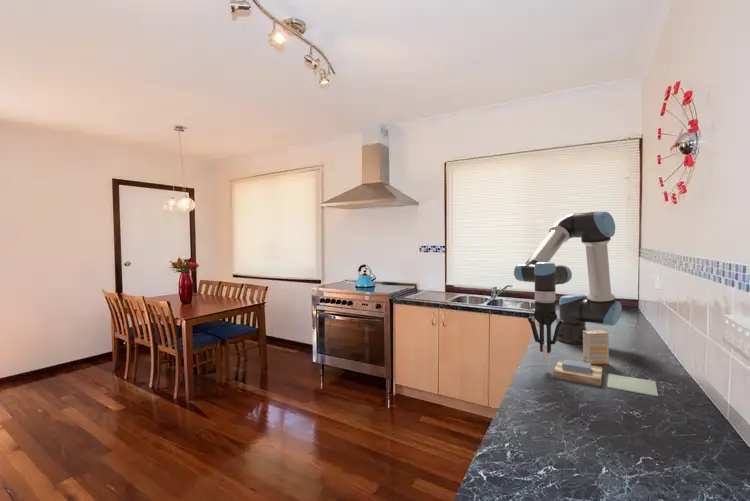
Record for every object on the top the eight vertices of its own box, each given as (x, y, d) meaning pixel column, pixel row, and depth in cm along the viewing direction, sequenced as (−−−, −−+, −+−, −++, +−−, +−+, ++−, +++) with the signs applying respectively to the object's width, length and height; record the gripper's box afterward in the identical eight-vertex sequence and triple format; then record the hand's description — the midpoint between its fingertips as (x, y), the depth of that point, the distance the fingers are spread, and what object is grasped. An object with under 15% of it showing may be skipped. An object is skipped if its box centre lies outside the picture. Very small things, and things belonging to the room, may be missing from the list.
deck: (558, 366, 146) (558, 360, 146) (602, 373, 137) (602, 367, 137) (553, 377, 134) (553, 371, 134) (600, 386, 126) (600, 379, 126)
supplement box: (603, 360, 151) (602, 330, 151) (609, 364, 147) (609, 333, 146) (582, 360, 152) (582, 330, 152) (588, 364, 147) (587, 332, 147)
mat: (608, 374, 136) (608, 373, 136) (655, 382, 128) (655, 381, 128) (607, 387, 125) (607, 386, 125) (658, 396, 116) (658, 395, 116)
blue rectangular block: (562, 369, 136) (562, 363, 136) (564, 364, 141) (564, 359, 141) (589, 373, 131) (589, 368, 131) (590, 368, 136) (590, 363, 136)
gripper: (525, 301, 142) (526, 360, 143) (562, 304, 135) (562, 366, 135) (529, 298, 148) (530, 355, 149) (564, 301, 141) (565, 360, 141)
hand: (545, 360), depth 142 cm, fingers closed
